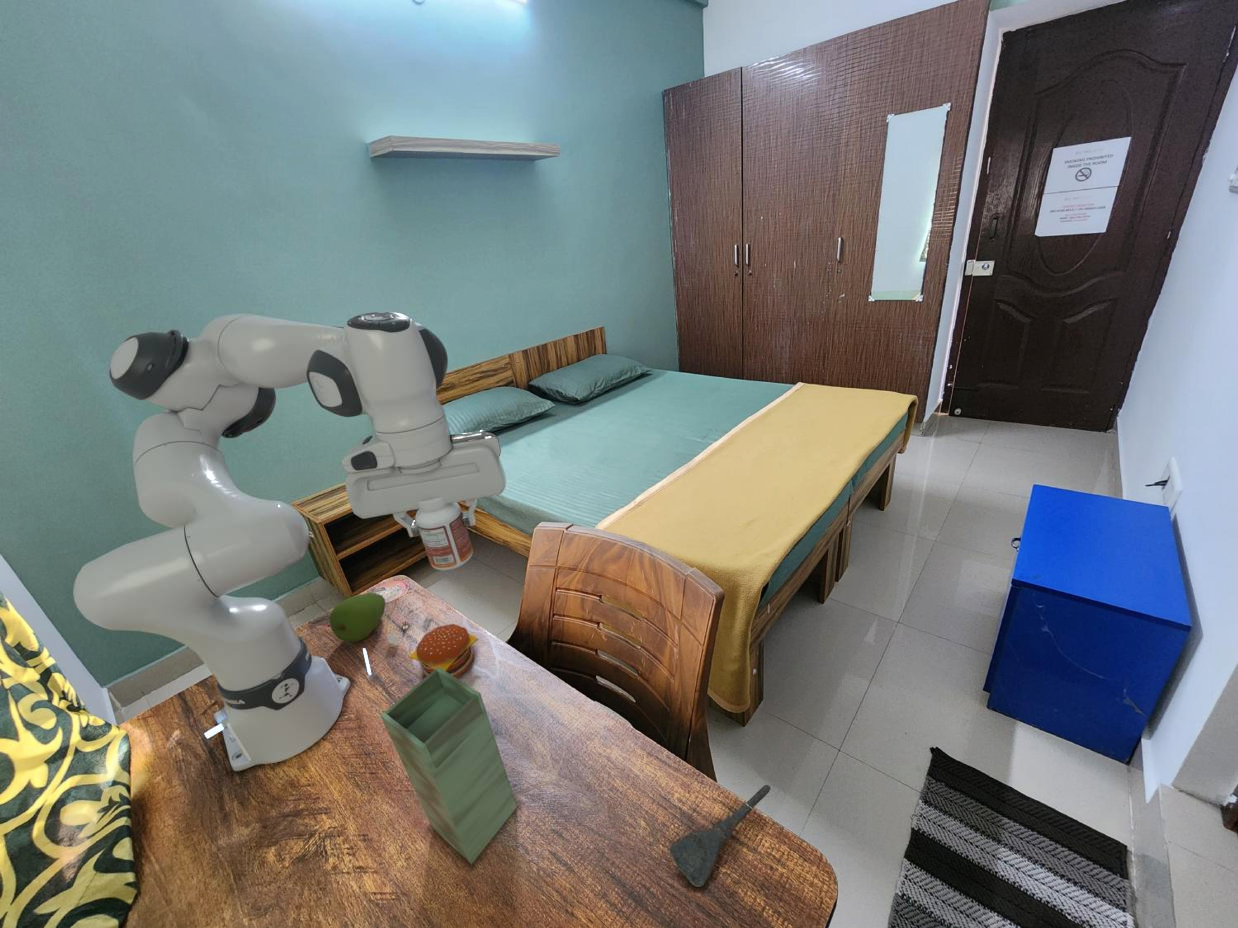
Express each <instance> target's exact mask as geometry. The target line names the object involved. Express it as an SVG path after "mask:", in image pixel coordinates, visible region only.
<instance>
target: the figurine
mask: <svg viewBox="0 0 1238 928" xmlns="http://www.w3.org/2000/svg"><path fill="white" fill-rule="evenodd" d="M428 624H429V618H428V615H426V617H425V619H424V627H425V628H428ZM402 626H403V627H402V628H403V630H407V629H408V627H409V626H408V624H407V621H403V622H402ZM386 638H387V642H388V644H396V645H400V642H399V638H398V635H395V634H386Z"/></svg>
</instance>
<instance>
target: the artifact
mask: <svg viewBox="0 0 1238 928" xmlns="http://www.w3.org/2000/svg"><path fill="white" fill-rule="evenodd" d="M770 791H771V786H770V785H769V784H765V785H763V786H762V787H760V789H759V790H757V791H756V792H755V794H753V796H752V797H750V798H749V799H748V800H747V801H746V802H745V803H747V804H748V805H749V806H751V807H752V808H753V809H754V808H755V807H756V806H757V805H758V804H759V803H760V802H761V801H762V800H763V799H764V798H765V797H767V795H768V794H769V793H770ZM745 803H744V804H743V805H742V806H741V807H740V808H739V809H737V810H736V811H735V812H734V813H733V814H731V815H730V816H728V817H727V818H725V819H724V820H717V821H716V822H715V825H714V827H711V828H708V829H706V830H698V831H694V832H692V833H690V834H687V835H685V836H683V837H681V838H680V839H678V840H676V841H675V842H673V843H672V844H671V846H670V848H669V853H670V856H671V857H672V859H673V862H674V863H675V865H676V867H677V868H678V869H679V871H680V872H681V873H682V874H683V875H684V876H685V877H686V879H687V880H688V881H689V882H690V884H691V885H693V886H694V887H696V888H697V887H698V888H699V887H703V886H704V885H705V883H706V881H707V880H708V879H709V877H710V876H711V874H712V872H713V870H714V867H715V865H716V862H717V861H718V857H719V854H720V852H721V849H722V847H723V845H724V844H725V842H727V841H730V840H731V839H732V837H733V831H734V830H735V829H736V827H738V825H740V823H742V822H743V820H744V819H745V818H746V817H747V815H749V813H751V811H752V810H753V809H751V808H750V807H749V806H747V805H746V804H745Z"/></svg>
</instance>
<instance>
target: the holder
mask: <svg viewBox="0 0 1238 928" xmlns="http://www.w3.org/2000/svg"><path fill="white" fill-rule="evenodd" d="M380 717H381V720H382V722H383V724H384V727H385V728H386V731H387V733H388V735H389V737H390V739H391V742H392V744H393V746H394V748H395V750H396V752H397V754H398V757H399V759H400V761H401V763H402V765H403V767H404V769H405V771H406V774H407V776H408V778H409V780H410V782H411V785H412V787H413V790H414V791H415V793H416V796H417V798H418V800H419V803H420V804H421V807H422V809H423V811H424V813H425V816H426V818H427V819H428V822H429V824H430V826H431V828H432V829H433V831H435V832H436V833H437V834H438V835H439V836H440V837H441V838H442V839H443V840H444V841H446V842H447V843H448V844H449V845H450V846H451V847H452V848H453V849H454V850H455V851H456V852H458V854H460V855H461V856H462V858H464V859H465V860H466V861H467V862H468V863H470V865H473V864H474V862H475V861H476V860H477V858H478V857H479V856H480V855H481V853H482V852H483V851H484V850H485V848H486V847H487V846H488V844H489V843H490V842H491V841H492V839H493V838H495V836H496V835H497V833H498V832H499V831H500V829H501V828H502V827H503V826H504V825H505V824H506V822H507V820H508V819H509V818H510V817H511V815H512V814H513V813H514V811H515V810H516V809H517V808H518V803H517V801H516V799H515V795H514V793H513V790H512V789H513V788H512V786H511V783H510V780H509V776H508V774H507V770H506V768H505V765H504V761H503V759H502V755H501V753H500V750H499V747H498V744H497V740H496V737H495V734H494V731H493V728H492V725H491V721H490V719H489V716H488V712H487V709H486V706H485V703H484V700H483V697H482V694H481V692H479V691H478V690H476V689H475V688H473V687H472V686H470V685H468V684H466V683H465V682H463V681H462V680H460V679H458V677H457V678H455V677H454V676H452V675H451V674H449V673H447V672H446V671H444V670H443V669H441V668H439V667H437V668H436V669H435V670H434V671H432V672H431V673H430V674H429V675H428V676H427V677H426V676H425V677H424V678H423V679H422V680H420V681H419V682H418V683H417V684H416V685H415V686H414V687H412V688H411V689H410V690H409V691H408V692H406V693H405V694H404V695H403V696H402V697H400V699H398V700H397V701H396V702H395V703H393V704H392V705H391V706H390V707H389V708H388V709H386V710H385V711H384V712H383V713H382V714H380Z"/></svg>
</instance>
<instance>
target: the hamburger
mask: <svg viewBox="0 0 1238 928" xmlns="http://www.w3.org/2000/svg"><path fill="white" fill-rule="evenodd" d="M478 641H479V638H477V637H476V636H474V634H471V633H469V631H468V629H467V628H466V627H464V626H460V625H458V624H454V623H451V624H444V625H439V626H437V627H435V628H433V629H432V630H431V631H428V632H427V633H426V634H424V635H423V637H422V639H421V640H420V641H419V643H418V645H417V646H416V649H415V650H414V651H413V652H412V653H411V654H410V655H409V656H408V659H412V660H415V661H417V662H419V664H420V666H421V668H422V671H423V676H425V677H427V676H428V675H429V674H430V673H431V672H432V671H434V670H435V669H436V668H437V667H439V668H441V669H443V670H444V671H446V672H447V673H449V674H451V675H452V676H454V677H455V678H457V679H458V677H460V676H462V675H463V674H464V673H466V672H467V671H468V669H469V668H470V667H471V665H472V664H473V661H474V658H475V653H474V650H473V647H472V645H474V644H475V643H477V642H478Z"/></svg>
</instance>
